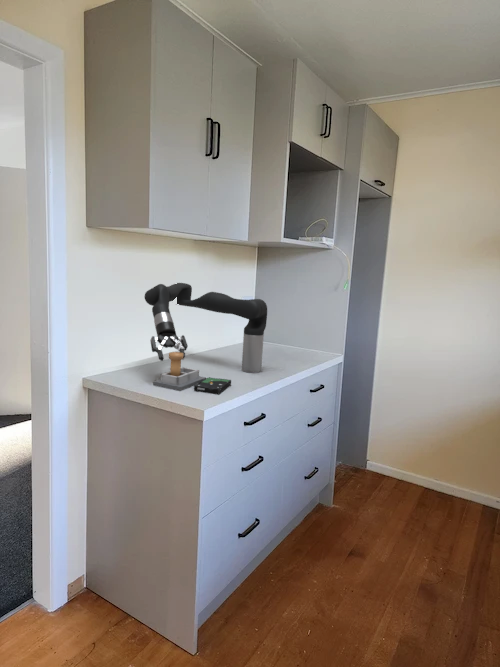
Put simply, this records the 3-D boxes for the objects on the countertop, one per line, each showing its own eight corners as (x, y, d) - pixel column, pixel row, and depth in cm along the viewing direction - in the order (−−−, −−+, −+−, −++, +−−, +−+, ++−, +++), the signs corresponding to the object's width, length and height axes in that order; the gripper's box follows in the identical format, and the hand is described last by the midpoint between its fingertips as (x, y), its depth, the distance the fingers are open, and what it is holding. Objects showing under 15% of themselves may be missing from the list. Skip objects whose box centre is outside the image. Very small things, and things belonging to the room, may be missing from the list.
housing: (179, 376, 189) (180, 365, 188) (205, 381, 183) (206, 370, 183) (153, 385, 173) (153, 373, 172) (180, 391, 167) (181, 379, 167)
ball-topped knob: (172, 377, 179) (173, 351, 178) (184, 379, 178) (185, 353, 176) (165, 380, 174) (166, 353, 172) (177, 383, 172) (179, 355, 171)
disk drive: (219, 396, 166) (231, 386, 180) (219, 389, 165) (231, 379, 180) (193, 392, 168) (207, 382, 183) (193, 385, 168) (207, 376, 182)
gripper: (178, 330, 189) (187, 363, 181) (145, 331, 182) (152, 365, 174) (183, 320, 183) (192, 353, 175) (149, 320, 176) (157, 354, 168)
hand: (172, 359), depth 175 cm, fingers open, 8 cm apart
